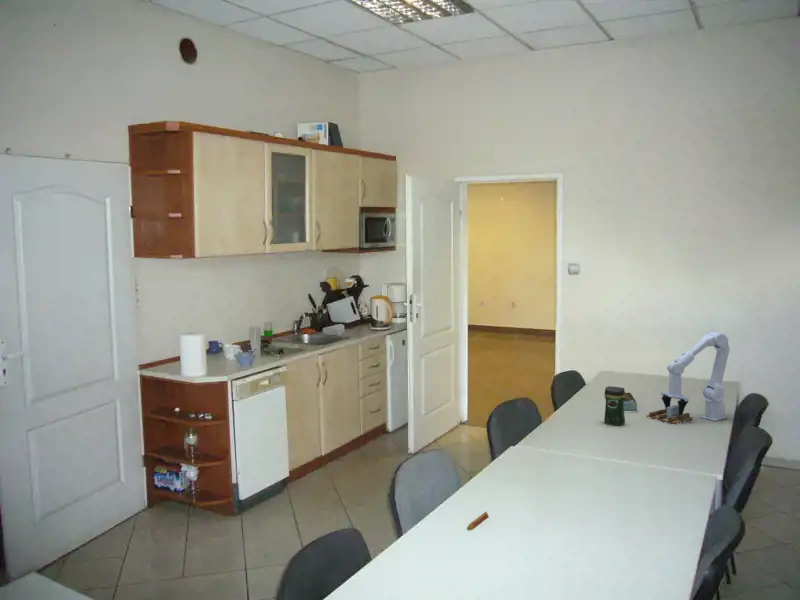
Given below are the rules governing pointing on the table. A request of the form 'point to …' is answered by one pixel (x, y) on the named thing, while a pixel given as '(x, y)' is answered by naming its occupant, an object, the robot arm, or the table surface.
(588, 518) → the table surface
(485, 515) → the pencil
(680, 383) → the robot arm
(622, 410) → the coffee jar
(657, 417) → the rack
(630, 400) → the beverage carton
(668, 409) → the tile
